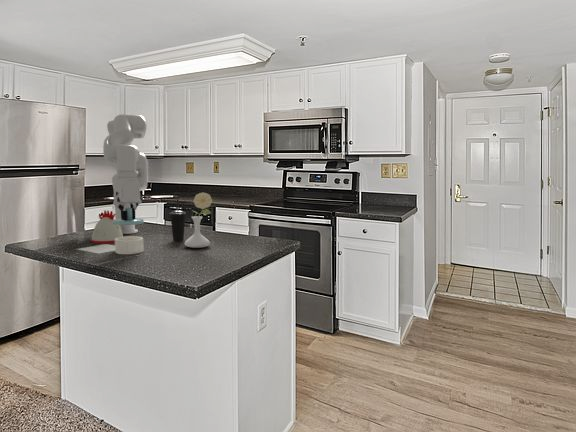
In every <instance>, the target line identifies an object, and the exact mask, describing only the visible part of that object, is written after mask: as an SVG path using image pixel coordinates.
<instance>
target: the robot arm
mask: <svg viewBox="0 0 576 432" xmlns="http://www.w3.org/2000/svg"><path fill="white" fill-rule="evenodd" d="M147 127H148V126H147V122H146V119H145V117H144V116H143V115H138V114H124V113H123V114H119V115H116V116H115V117H114V118H113V120H110V121H108V122H107V125H106V128H107V132H108V135H107V136H106V137H105V139H104V141H103V145H102V147H103V148H102V149H103V152H102V153H103V158H104V160H105V162H107V163H109V164H110V163H113V164H114V167H115V169H116V173H114V174H113V176H112V177H111V182H112V188H113V203H112V205H113V206H114V214H115V217H114V218H115V219H114V220H116V219H121V220H128V215H127V211H126V208H132V217H133V219H135V218H136V210H137V208H138V206H139V205H140V204H142V202H143V200H142V199H141V191H142V192H143V191H146V190H147V188H148V158H147V155H145V154H144V153H142V152H140V149H139V148H138V147H137V146H136V145H134V144H132V143H133V141H134V139H138V140H139V139H140V140H141V139H143V138H144V137H145V135H146V132H147ZM119 226H120V228H121V231H122V234H123V235H130V234H136V233H138V232H139V230H138V229H137V228H135V227H136V225H119Z"/></svg>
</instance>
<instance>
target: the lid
mask: <svg viewBox="0 0 576 432" xmlns="http://www.w3.org/2000/svg"><path fill="white" fill-rule="evenodd" d="M126 211H127V215H128V220H121V219H116V220H115V219H114V220H113V224H115V225H135V226H136V225H141V224H144V223H145V222H144V220H145V219H144V218H138V217H137V218H136V217H135V219H133V217H132V208H126Z"/></svg>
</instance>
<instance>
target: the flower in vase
mask: <svg viewBox="0 0 576 432" xmlns="http://www.w3.org/2000/svg"><path fill="white" fill-rule="evenodd" d="M212 202H213V199H212V197H211V195H210V193H207V192H202V191H201V192H199V193H198V194H195V196H194V199H193V203H194V205H195V206H194V207H196V208H198V209H201V211H200V212H199V213H198V212H197V211H195V210H192V208H190V209H191V211H192V212H193V213H195V214H198V216H197V215H196V216H191V219H192V220H193V225H194V232H193V234H192V235H191V236H190V237H189V238H187V239H186V240H185V242H184V245H185V247H188V248H192V249H200V248H205V247H208V246H210V244H211V242H210V240H209V239H208V238H206V237H205V235H203V234H202V233H201V230H200V229H201V228H200V226H201V220H202V219H203V216H202V215H201V214H202V213H203V215H210V214H212V212H211V211H210V209H207V208H209V207H211V204H212ZM200 215H201V216H200Z"/></svg>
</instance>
